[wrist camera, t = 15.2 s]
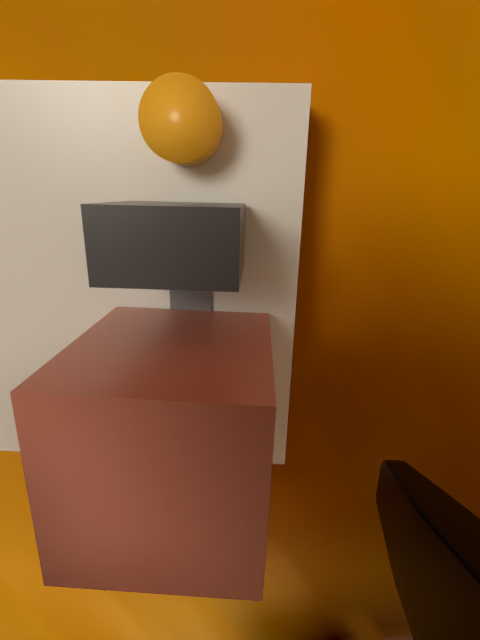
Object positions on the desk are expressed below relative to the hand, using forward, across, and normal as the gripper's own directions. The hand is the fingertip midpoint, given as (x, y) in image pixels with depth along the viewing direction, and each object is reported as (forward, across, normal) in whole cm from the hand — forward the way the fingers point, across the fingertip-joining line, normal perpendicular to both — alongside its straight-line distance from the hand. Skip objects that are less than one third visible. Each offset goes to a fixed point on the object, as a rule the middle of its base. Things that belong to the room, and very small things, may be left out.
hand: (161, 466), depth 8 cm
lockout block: (+4, 0, 0) cm, 4 cm away
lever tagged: (+4, 0, -4) cm, 6 cm away
